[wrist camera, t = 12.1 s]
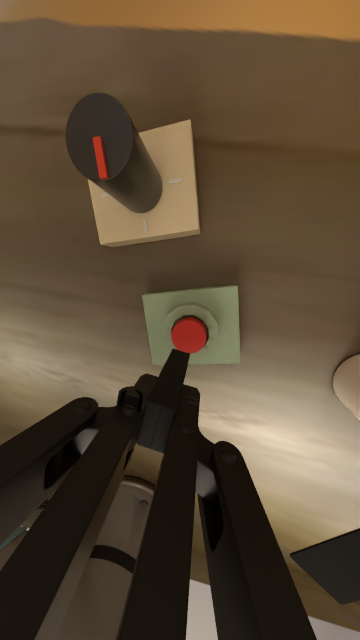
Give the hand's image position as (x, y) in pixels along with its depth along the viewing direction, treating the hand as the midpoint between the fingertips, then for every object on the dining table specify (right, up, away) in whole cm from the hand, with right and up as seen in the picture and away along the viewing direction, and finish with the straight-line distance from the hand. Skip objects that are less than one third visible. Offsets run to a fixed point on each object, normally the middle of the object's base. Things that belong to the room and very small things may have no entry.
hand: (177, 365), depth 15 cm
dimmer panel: (-4, +19, +8) cm, 21 cm away
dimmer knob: (-4, +18, +5) cm, 19 cm away
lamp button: (+1, +2, +8) cm, 8 cm away
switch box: (+2, +3, +11) cm, 12 cm away
